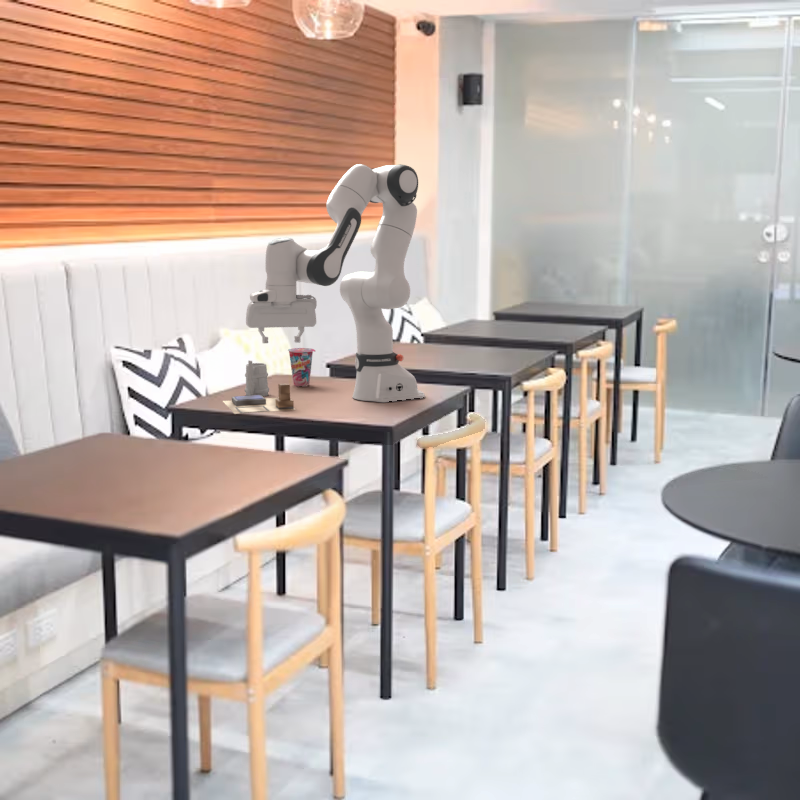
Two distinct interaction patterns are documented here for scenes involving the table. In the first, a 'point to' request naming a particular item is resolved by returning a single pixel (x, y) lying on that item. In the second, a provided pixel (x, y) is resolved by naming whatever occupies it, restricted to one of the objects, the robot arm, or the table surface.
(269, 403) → the board
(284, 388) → the stamp
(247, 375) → the mug
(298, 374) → the cup
